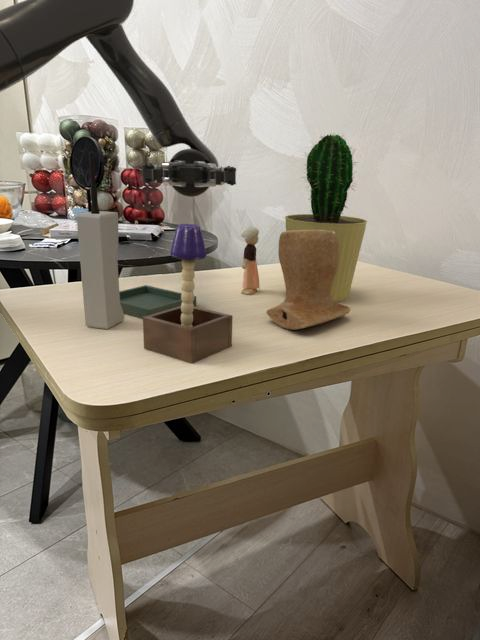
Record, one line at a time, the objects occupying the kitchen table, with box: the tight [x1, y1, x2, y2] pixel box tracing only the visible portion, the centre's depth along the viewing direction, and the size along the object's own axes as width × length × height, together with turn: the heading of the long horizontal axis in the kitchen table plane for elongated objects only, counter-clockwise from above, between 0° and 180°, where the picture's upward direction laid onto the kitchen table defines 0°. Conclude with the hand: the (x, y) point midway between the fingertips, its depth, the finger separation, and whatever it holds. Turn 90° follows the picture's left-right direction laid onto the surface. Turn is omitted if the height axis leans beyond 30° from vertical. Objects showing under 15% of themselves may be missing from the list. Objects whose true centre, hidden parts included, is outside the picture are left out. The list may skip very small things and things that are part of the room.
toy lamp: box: [169, 223, 207, 327], centre depth 69 cm, size 5×5×17 cm
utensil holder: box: [76, 151, 125, 330], centre depth 76 cm, size 4×5×25 cm
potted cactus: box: [284, 132, 368, 303], centre depth 98 cm, size 15×15×30 cm
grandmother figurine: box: [240, 226, 260, 296], centre depth 101 cm, size 8×4×13 cm, turn 179°
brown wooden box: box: [142, 306, 233, 364], centre depth 72 cm, size 9×9×4 cm
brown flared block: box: [266, 230, 352, 331], centre depth 84 cm, size 15×12×15 cm
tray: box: [119, 284, 197, 319], centre depth 90 cm, size 12×11×2 cm
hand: (188, 176), depth 75 cm, fingers open, 8 cm apart
